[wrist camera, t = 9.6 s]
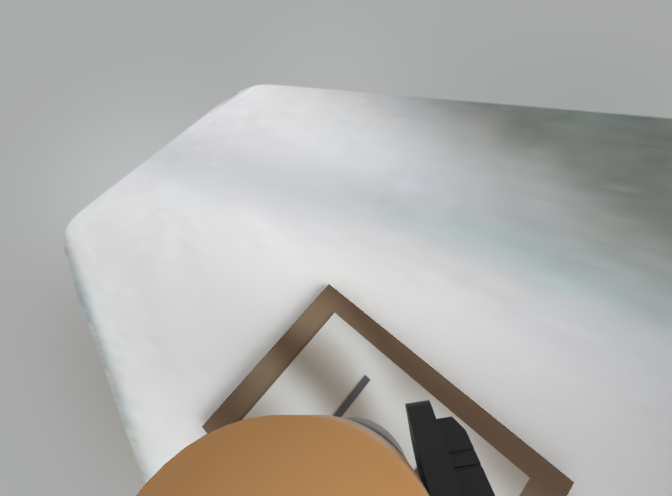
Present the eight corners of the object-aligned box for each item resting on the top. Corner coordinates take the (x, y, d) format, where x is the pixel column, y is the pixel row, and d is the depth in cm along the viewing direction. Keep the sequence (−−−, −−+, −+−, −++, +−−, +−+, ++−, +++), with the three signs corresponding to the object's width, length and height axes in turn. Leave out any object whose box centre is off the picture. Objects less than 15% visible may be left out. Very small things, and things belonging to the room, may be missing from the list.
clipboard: (330, 287, 28) (327, 280, 27) (567, 479, 21) (582, 485, 19) (207, 426, 25) (195, 427, 24) (434, 716, 17) (439, 748, 16)
